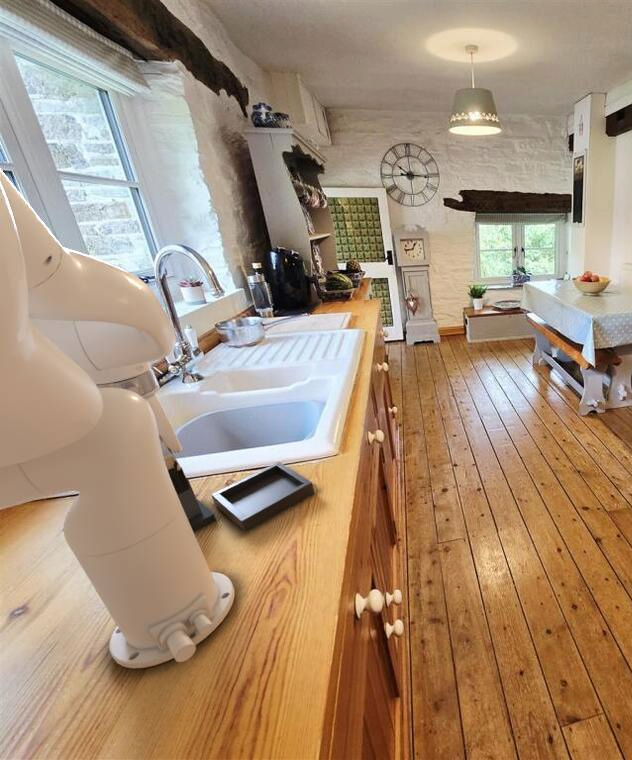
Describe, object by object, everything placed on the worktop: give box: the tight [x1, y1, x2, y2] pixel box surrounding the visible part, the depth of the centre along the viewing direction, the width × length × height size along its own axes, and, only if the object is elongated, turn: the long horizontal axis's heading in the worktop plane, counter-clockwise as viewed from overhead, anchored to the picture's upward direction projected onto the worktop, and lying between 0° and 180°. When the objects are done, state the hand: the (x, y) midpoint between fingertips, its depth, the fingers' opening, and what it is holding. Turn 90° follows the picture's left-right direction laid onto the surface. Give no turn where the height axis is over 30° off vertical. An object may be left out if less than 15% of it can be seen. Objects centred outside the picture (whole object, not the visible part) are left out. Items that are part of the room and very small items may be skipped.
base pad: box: [210, 461, 315, 533], centre depth 73 cm, size 12×12×2 cm
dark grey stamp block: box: [178, 477, 217, 532], centre depth 67 cm, size 7×7×8 cm
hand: (166, 482), depth 66 cm, fingers open, 9 cm apart
